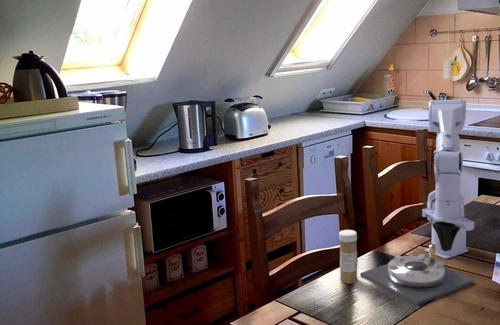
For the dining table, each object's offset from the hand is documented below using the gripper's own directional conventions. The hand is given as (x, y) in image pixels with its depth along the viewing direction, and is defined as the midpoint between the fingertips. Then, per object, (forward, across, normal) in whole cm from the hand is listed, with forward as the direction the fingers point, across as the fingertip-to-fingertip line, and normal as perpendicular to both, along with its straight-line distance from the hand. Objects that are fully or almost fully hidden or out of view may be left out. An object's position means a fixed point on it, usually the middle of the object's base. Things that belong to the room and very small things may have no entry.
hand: (446, 249), depth 138 cm
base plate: (+8, -5, -6) cm, 11 cm away
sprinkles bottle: (+8, -15, -20) cm, 26 cm away
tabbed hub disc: (+7, -5, -6) cm, 10 cm away
